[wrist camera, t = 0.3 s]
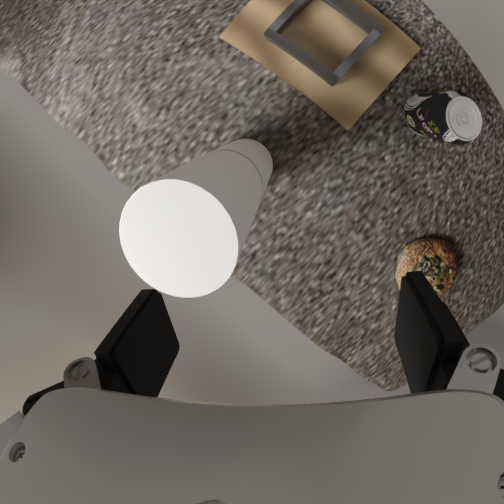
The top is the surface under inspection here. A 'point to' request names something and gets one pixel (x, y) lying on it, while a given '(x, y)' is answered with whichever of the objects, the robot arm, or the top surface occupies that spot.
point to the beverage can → (444, 116)
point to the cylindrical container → (196, 219)
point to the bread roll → (429, 262)
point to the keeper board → (325, 50)
